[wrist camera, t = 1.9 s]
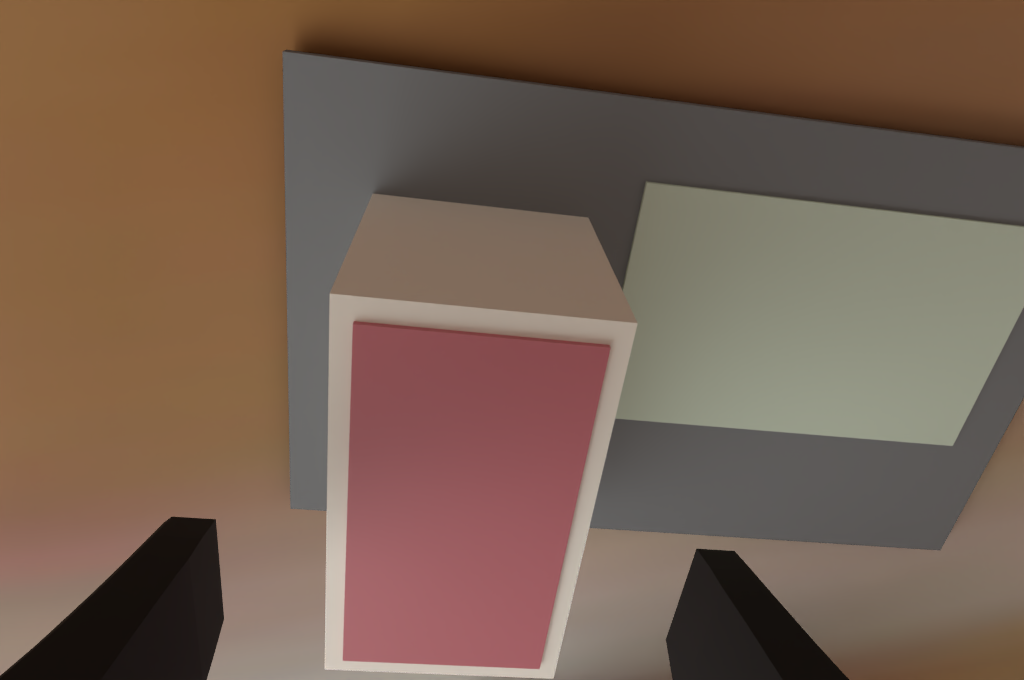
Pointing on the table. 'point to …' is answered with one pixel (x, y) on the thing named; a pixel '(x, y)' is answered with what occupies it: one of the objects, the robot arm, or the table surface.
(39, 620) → the table surface
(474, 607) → the card box
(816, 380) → the mat
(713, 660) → the robot arm
